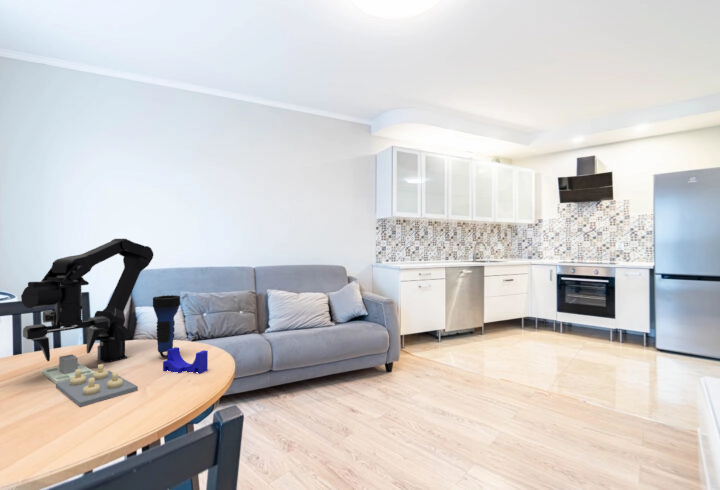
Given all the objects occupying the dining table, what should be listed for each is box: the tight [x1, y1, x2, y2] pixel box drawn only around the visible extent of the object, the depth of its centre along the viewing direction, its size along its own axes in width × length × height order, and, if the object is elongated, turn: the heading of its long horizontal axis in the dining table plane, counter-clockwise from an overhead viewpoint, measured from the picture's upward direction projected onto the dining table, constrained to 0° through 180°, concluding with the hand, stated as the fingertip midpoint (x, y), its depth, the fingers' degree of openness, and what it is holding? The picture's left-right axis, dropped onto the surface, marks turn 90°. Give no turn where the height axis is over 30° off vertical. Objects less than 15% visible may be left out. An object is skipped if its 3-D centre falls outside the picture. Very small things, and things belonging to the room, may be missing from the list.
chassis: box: [55, 363, 139, 408], centre depth 93 cm, size 12×19×4 cm, turn 53°
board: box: [41, 354, 95, 384], centre depth 104 cm, size 9×14×5 cm, turn 53°
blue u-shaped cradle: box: [162, 346, 209, 375], centre depth 107 cm, size 12×4×6 cm, turn 72°
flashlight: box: [152, 294, 181, 359], centre depth 119 cm, size 8×8×20 cm
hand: (68, 356), depth 104 cm, fingers open, 9 cm apart
